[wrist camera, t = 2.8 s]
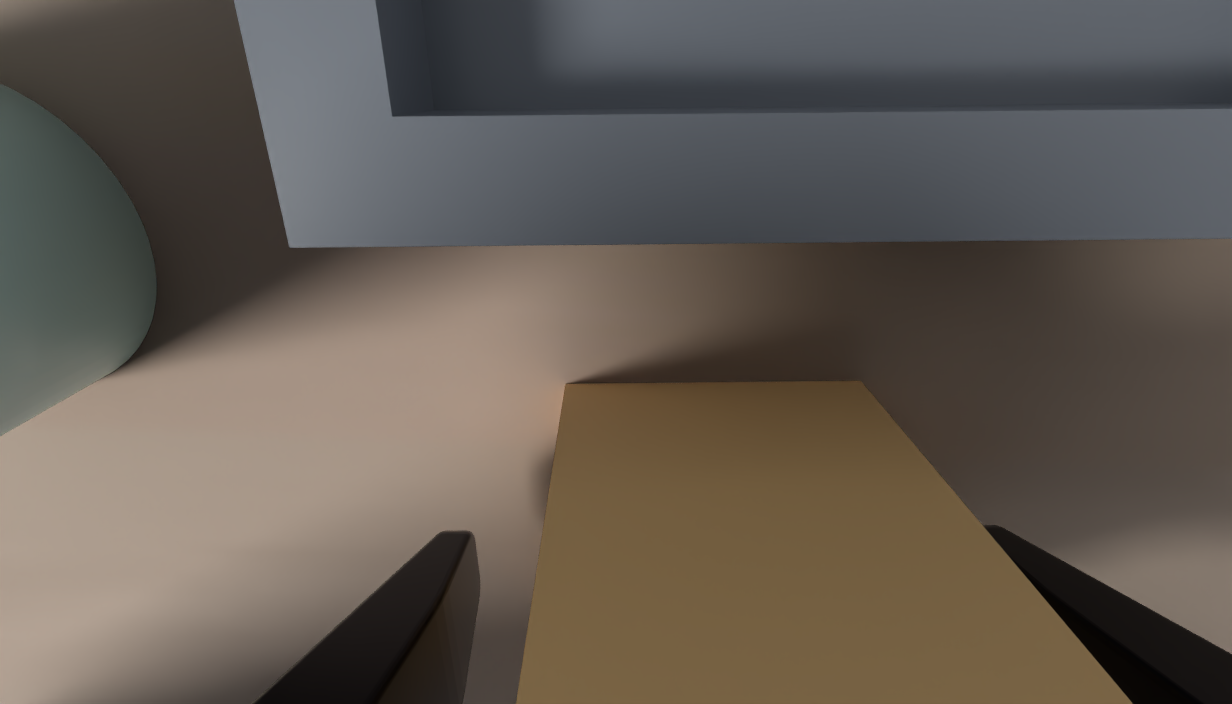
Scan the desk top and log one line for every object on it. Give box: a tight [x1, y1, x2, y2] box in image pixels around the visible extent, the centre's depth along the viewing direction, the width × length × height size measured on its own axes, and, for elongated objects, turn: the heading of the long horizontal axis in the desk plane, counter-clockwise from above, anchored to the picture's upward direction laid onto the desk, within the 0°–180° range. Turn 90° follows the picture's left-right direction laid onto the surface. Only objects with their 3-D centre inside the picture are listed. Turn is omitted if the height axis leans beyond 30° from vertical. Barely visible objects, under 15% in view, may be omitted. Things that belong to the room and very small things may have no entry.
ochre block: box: [516, 381, 1133, 704], centre depth 7 cm, size 4×4×5 cm
